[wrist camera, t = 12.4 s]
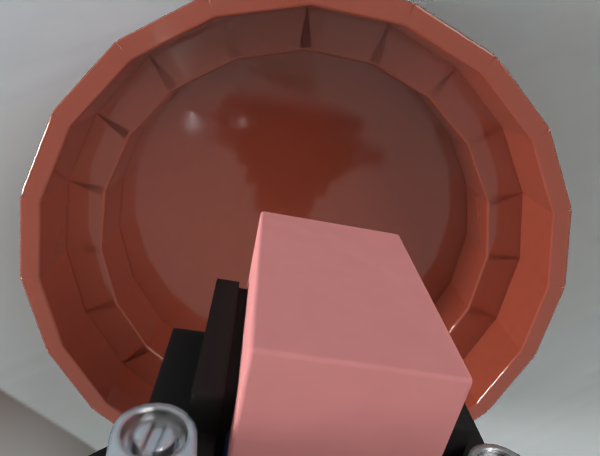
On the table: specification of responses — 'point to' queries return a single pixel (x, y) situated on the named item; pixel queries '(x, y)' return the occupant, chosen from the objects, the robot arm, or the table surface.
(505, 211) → the bowl
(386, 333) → the eraser
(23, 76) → the table surface
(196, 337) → the robot arm
